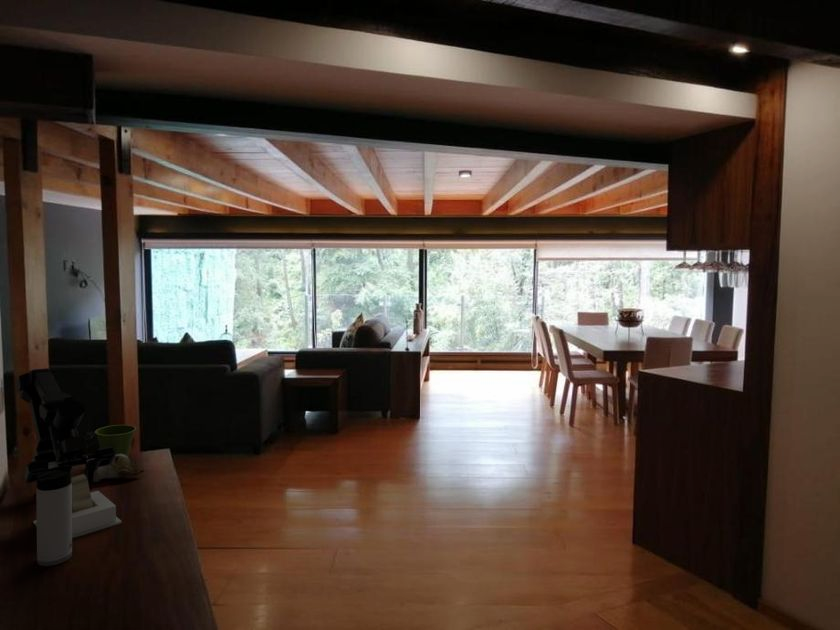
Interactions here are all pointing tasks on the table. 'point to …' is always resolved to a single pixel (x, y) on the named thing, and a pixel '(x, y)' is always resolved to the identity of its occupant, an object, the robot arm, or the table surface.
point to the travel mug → (54, 515)
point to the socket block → (94, 516)
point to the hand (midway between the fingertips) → (79, 493)
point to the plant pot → (116, 438)
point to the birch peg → (80, 493)
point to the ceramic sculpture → (116, 469)
